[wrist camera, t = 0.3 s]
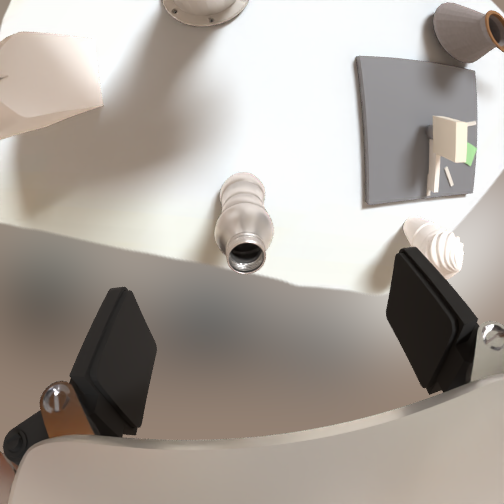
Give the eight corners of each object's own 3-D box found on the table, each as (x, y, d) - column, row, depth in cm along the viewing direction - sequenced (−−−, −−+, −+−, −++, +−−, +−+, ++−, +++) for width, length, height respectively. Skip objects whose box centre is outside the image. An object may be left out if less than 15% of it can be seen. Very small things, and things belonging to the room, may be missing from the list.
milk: (44, 127, 37) (-72, 179, 14) (35, 66, 31) (-85, 82, 9) (103, 105, 37) (-17, 138, 14) (94, 39, 31) (-25, 18, 8)
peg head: (425, 113, 37) (456, 121, 30) (436, 114, 37) (467, 122, 30) (423, 188, 44) (450, 207, 37) (434, 187, 44) (461, 205, 37)
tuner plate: (356, 56, 35) (360, 55, 33) (469, 70, 34) (476, 70, 33) (365, 201, 47) (369, 205, 45) (468, 190, 46) (473, 193, 45)
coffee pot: (432, 60, 34) (493, 61, 21) (418, 0, 28) (475, -16, 15) (505, 71, 33) (559, 81, 20) (496, 20, 27) (548, 20, 14)
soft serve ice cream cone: (430, 236, 51) (476, 283, 37) (395, 251, 52) (437, 304, 39) (427, 199, 47) (480, 241, 33) (390, 213, 48) (438, 261, 34)
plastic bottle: (272, 189, 45) (296, 258, 28) (239, 217, 47) (243, 297, 30) (244, 159, 43) (250, 211, 26) (211, 189, 45) (196, 258, 28)
